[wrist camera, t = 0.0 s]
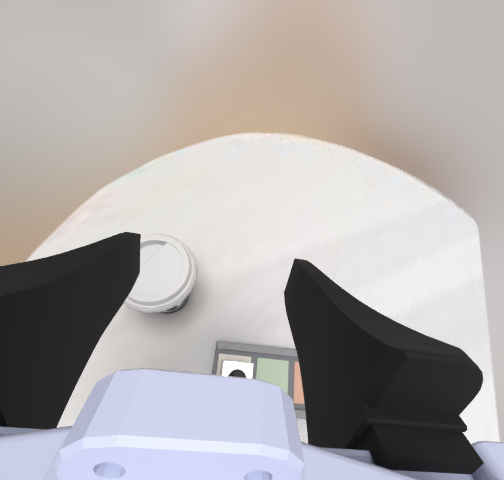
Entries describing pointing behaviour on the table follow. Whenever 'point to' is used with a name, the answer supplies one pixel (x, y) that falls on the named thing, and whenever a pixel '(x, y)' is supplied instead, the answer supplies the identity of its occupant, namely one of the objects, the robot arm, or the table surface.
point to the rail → (267, 367)
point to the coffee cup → (163, 275)
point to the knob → (236, 369)
